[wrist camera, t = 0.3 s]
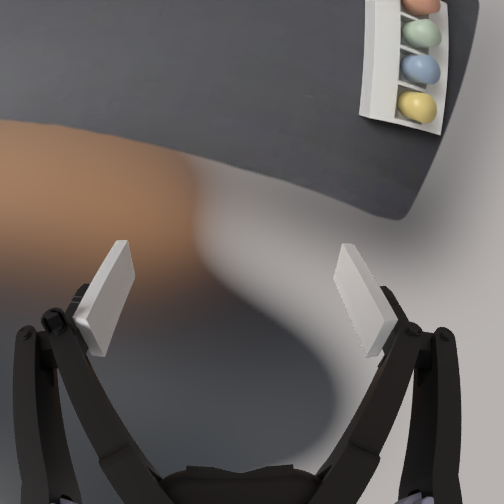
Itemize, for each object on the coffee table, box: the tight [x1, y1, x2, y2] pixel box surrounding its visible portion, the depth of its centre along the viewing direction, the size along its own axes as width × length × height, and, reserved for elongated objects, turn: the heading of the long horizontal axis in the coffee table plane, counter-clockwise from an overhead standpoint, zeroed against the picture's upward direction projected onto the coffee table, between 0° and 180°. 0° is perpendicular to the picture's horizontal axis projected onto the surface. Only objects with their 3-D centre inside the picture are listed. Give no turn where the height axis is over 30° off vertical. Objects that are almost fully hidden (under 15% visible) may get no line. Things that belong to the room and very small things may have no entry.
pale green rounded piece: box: [402, 19, 442, 48], centre depth 25 cm, size 4×4×4 cm
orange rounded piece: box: [401, 0, 441, 16], centre depth 21 cm, size 4×4×4 cm
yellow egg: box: [397, 91, 437, 123], centre depth 31 cm, size 4×4×4 cm
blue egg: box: [400, 55, 441, 84], centre depth 28 cm, size 4×4×4 cm
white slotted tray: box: [359, 0, 448, 135], centre depth 29 cm, size 25×14×4 cm, turn 178°
